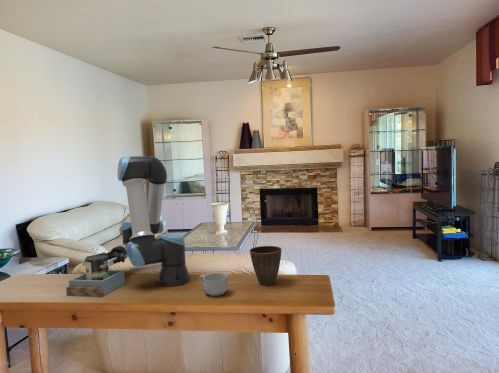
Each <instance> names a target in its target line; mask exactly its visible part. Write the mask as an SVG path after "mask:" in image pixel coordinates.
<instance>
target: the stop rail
mask: <svg viewBox="0 0 499 373" xmlns="http://www.w3.org/2000/svg"><path fill="white" fill-rule="evenodd" d="M65 289H66V296H69V297H87V298H88V297H89V298H103V297H104V296H105V295H104V288H99V287H72V286H69V285H68V286H67V287H65Z"/></svg>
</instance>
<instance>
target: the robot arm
mask: <svg viewBox="0 0 499 373" xmlns="http://www.w3.org/2000/svg"><path fill="white" fill-rule="evenodd" d="M117 180H118V181H120V182H122V185H123V187H125V190H126V197H127V205H128V211H129V217H130V218H129V219H126V220H123V221H122V222H121V232H122V234H121V236H122V244H120V245H117V246H115V247H113V248H112V249H111V250H110V251H109V252H104V251H103V252H100V253H97V254H92V255H91V256H94V255H108V261H107V262H108V267H109V268H110V267H112V266H113V265H117V263H119V264H120V263H125V261H126V259H129V261H130V264H131V265H132V266H133V267H144V266H149V265H155V264H160V263H161V268H160V272H159V274H158V275H159V276H158V284H159V285H160V286H165V287H174V286H181V285H185V284H186V283H189V282H190V281H191V276H190V273H189V270H188V268H187V265H186V243H185V238H184V236H182V234H181V235H180V234H175V233H174V234H173V233H165V234H164V233H163V231H164V223H163V220H161V214H162V206H163V205H162V204H163V197H164V188H165V185H166V184H167V180H168V173H167V169H166V167H165V164H163V162H162V161H161V160H160V159H159V158H158V157H155V156H152V155H145V156H143V155H142V156H139V155H138V156H135V155H134V156H130V155H129V156H122V157H120V158H119V161H118V163H117ZM147 182H149V186H148V193H147V194H148V195H146V188H145V185H146V183H147ZM161 233H163V234H161ZM159 234H160V235H159ZM156 235H159V238H156ZM89 256H90V255H88V256H86V257H89ZM81 266H82V267H86V266H85V258H84V259H83V260H82V259H81Z"/></svg>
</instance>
